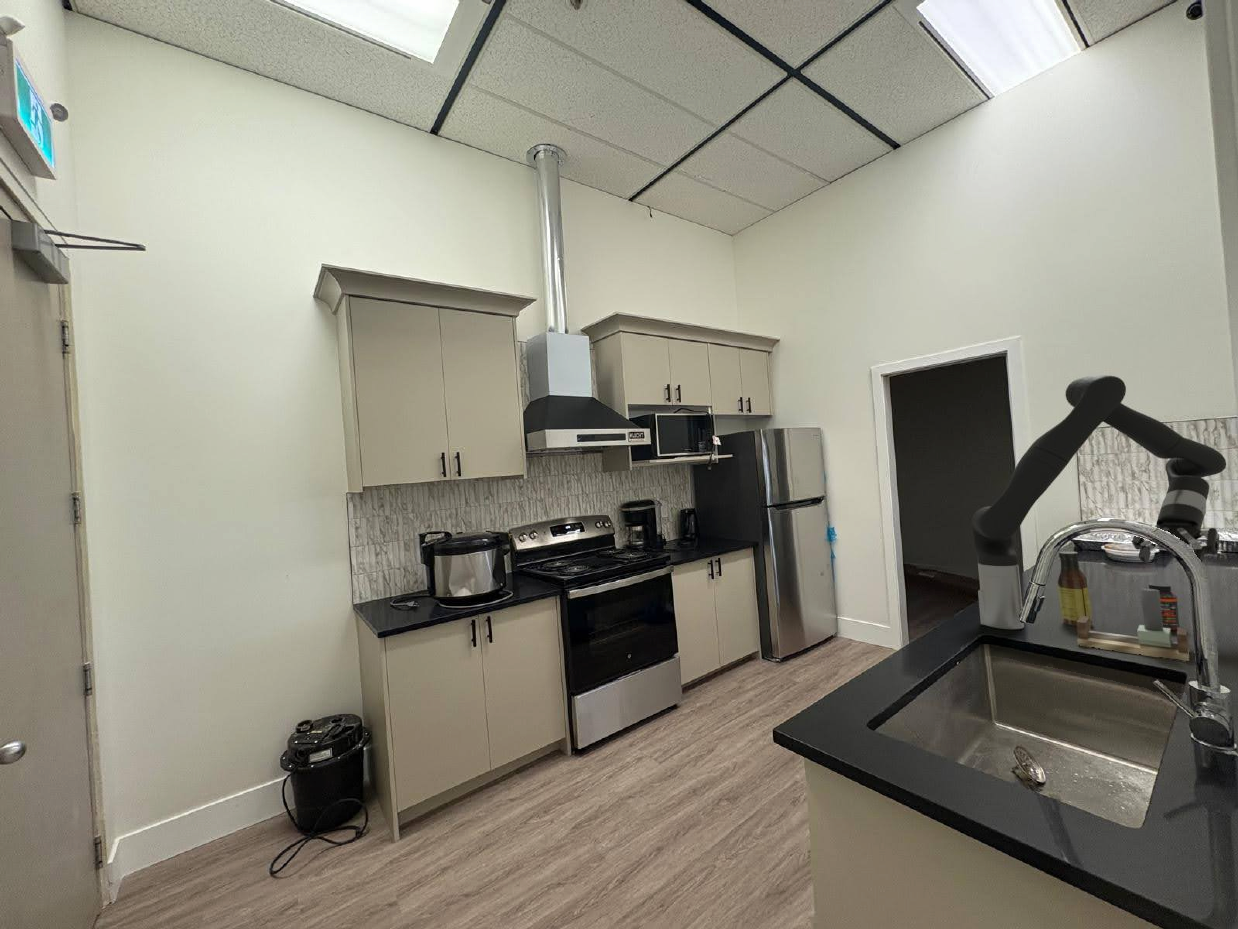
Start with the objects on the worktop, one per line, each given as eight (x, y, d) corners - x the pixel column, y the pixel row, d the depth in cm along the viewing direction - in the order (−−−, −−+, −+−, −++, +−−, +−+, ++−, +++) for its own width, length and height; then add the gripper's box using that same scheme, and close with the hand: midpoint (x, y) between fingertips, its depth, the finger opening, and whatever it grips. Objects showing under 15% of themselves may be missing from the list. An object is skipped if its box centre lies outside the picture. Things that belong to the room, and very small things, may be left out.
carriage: (1138, 644, 117) (1133, 591, 118) (1141, 638, 121) (1135, 586, 122) (1170, 648, 113) (1164, 593, 114) (1171, 642, 117) (1166, 589, 118)
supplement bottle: (1154, 630, 132) (1150, 586, 132) (1142, 624, 137) (1137, 582, 138) (1186, 631, 129) (1181, 587, 130) (1171, 625, 135) (1167, 582, 135)
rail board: (1078, 645, 124) (1075, 622, 124) (1084, 637, 130) (1082, 615, 130) (1188, 661, 110) (1185, 636, 111) (1189, 651, 116) (1187, 627, 116)
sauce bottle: (1080, 621, 143) (1073, 550, 144) (1099, 627, 137) (1092, 552, 138) (1055, 621, 144) (1048, 551, 145) (1073, 628, 137) (1065, 554, 138)
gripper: (1138, 502, 134) (1122, 550, 128) (1219, 502, 121) (1206, 556, 116) (1148, 521, 136) (1134, 569, 130) (1229, 522, 123) (1217, 576, 118)
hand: (1168, 563), depth 123 cm, fingers open, 8 cm apart
